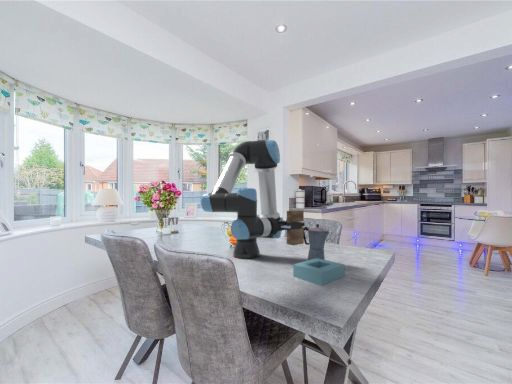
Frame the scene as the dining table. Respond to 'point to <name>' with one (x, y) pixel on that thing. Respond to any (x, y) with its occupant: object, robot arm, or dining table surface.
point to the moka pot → (316, 242)
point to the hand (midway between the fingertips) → (302, 223)
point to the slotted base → (318, 271)
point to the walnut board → (295, 234)
